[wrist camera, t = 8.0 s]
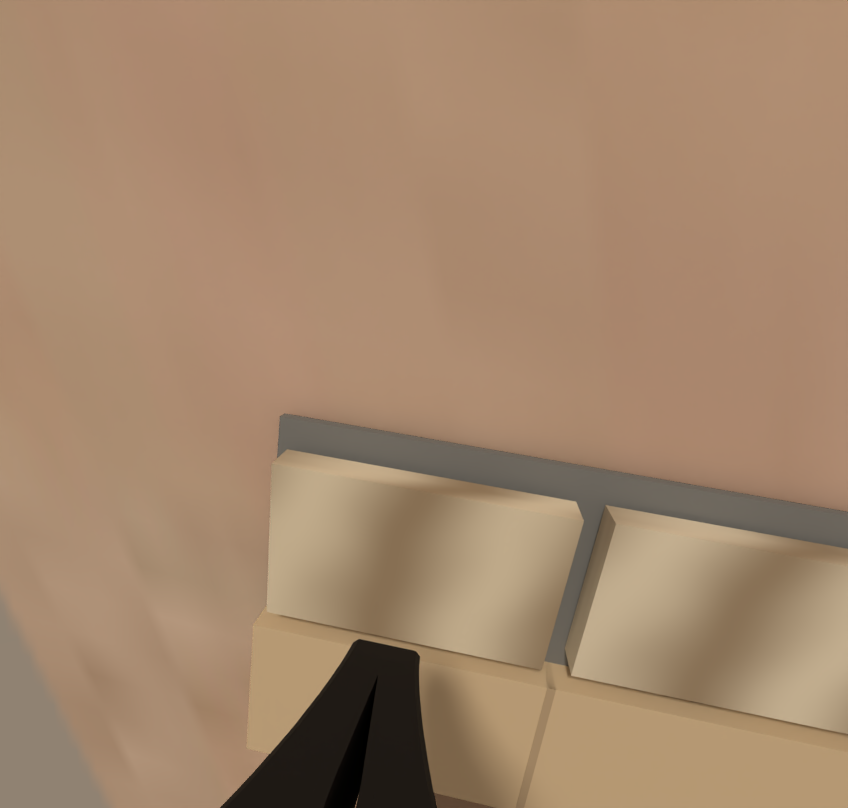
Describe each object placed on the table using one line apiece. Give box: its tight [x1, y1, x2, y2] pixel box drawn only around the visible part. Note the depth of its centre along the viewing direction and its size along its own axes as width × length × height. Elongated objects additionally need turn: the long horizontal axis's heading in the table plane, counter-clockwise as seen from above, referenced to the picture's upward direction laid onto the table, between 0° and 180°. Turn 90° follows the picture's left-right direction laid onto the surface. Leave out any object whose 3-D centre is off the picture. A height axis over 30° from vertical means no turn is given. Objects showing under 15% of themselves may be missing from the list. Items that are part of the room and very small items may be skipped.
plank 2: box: [565, 505, 848, 734], centre depth 15 cm, size 10×6×1 cm, turn 82°
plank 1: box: [267, 449, 584, 670], centre depth 16 cm, size 10×6×1 cm, turn 82°
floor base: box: [246, 414, 848, 808], centre depth 16 cm, size 22×14×2 cm, turn 82°
